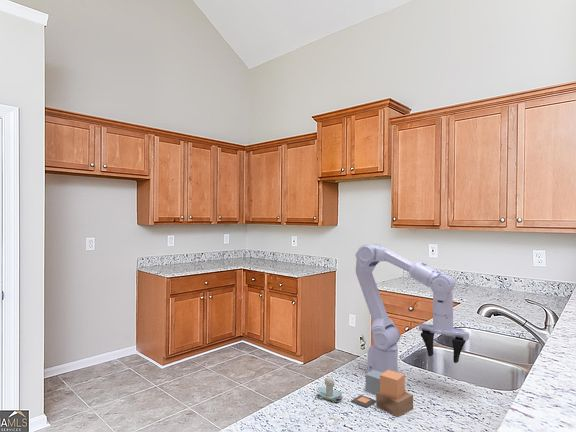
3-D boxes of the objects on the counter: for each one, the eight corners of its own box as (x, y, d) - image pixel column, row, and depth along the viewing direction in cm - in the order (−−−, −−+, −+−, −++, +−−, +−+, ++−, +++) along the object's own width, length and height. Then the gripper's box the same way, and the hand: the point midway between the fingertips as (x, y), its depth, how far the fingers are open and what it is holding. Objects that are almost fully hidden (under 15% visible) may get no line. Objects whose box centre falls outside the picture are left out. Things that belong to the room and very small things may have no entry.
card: (351, 401, 101) (351, 399, 101) (361, 396, 105) (361, 394, 105) (366, 408, 98) (366, 405, 98) (376, 401, 102) (376, 399, 102)
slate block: (365, 391, 109) (365, 374, 109) (374, 386, 112) (374, 369, 112) (380, 396, 105) (380, 379, 105) (388, 391, 109) (388, 374, 109)
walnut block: (376, 407, 99) (376, 392, 99) (391, 400, 103) (391, 386, 103) (398, 418, 94) (398, 402, 94) (413, 409, 98) (413, 394, 98)
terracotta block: (379, 393, 99) (379, 375, 99) (387, 387, 103) (387, 369, 103) (397, 399, 95) (397, 380, 96) (404, 392, 99) (404, 374, 99)
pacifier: (324, 391, 109) (315, 398, 104) (324, 370, 109) (315, 376, 104) (346, 397, 105) (338, 405, 100) (347, 375, 105) (338, 382, 100)
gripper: (414, 312, 113) (414, 355, 112) (463, 320, 103) (463, 368, 102) (423, 308, 118) (424, 350, 117) (471, 316, 108) (471, 362, 107)
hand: (443, 358), depth 110 cm, fingers open, 7 cm apart
